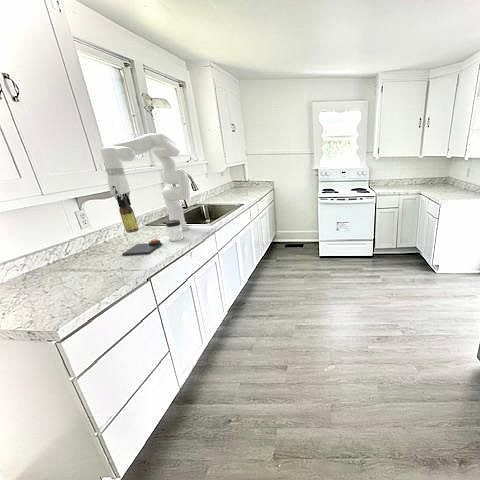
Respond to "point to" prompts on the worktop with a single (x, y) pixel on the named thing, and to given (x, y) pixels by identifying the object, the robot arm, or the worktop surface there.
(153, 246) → the scale
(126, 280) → the worktop surface
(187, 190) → the robot arm
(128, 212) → the sauce bottle
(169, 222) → the jar
